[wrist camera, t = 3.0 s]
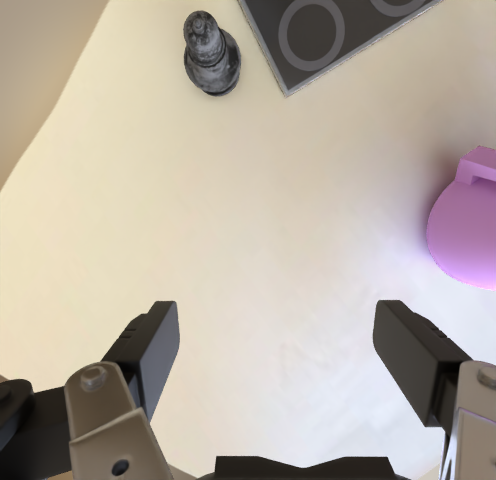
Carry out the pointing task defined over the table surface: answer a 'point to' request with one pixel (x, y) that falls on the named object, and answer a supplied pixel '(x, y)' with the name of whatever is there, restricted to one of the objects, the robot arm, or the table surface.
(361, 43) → the hob
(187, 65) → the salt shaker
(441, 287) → the table surface
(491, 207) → the teapot
